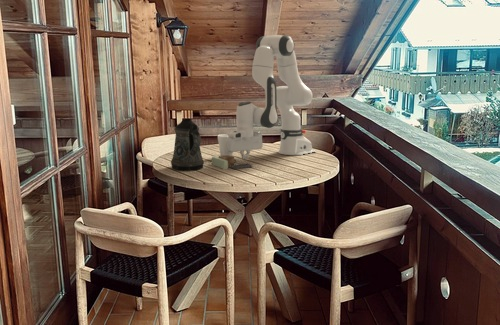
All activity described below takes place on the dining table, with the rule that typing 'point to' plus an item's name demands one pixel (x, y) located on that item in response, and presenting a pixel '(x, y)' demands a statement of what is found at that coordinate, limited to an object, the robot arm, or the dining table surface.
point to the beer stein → (187, 147)
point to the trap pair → (240, 166)
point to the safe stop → (220, 162)
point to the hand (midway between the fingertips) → (245, 158)
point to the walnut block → (228, 159)
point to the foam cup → (223, 144)
